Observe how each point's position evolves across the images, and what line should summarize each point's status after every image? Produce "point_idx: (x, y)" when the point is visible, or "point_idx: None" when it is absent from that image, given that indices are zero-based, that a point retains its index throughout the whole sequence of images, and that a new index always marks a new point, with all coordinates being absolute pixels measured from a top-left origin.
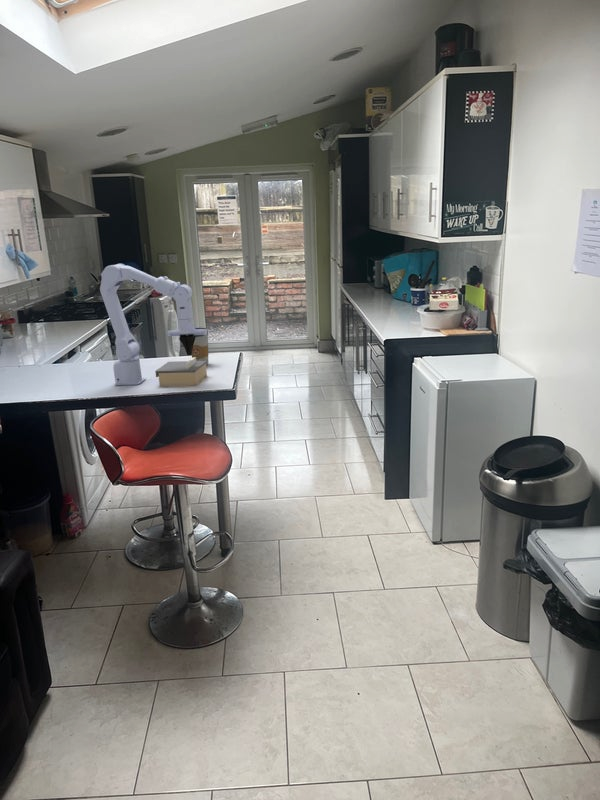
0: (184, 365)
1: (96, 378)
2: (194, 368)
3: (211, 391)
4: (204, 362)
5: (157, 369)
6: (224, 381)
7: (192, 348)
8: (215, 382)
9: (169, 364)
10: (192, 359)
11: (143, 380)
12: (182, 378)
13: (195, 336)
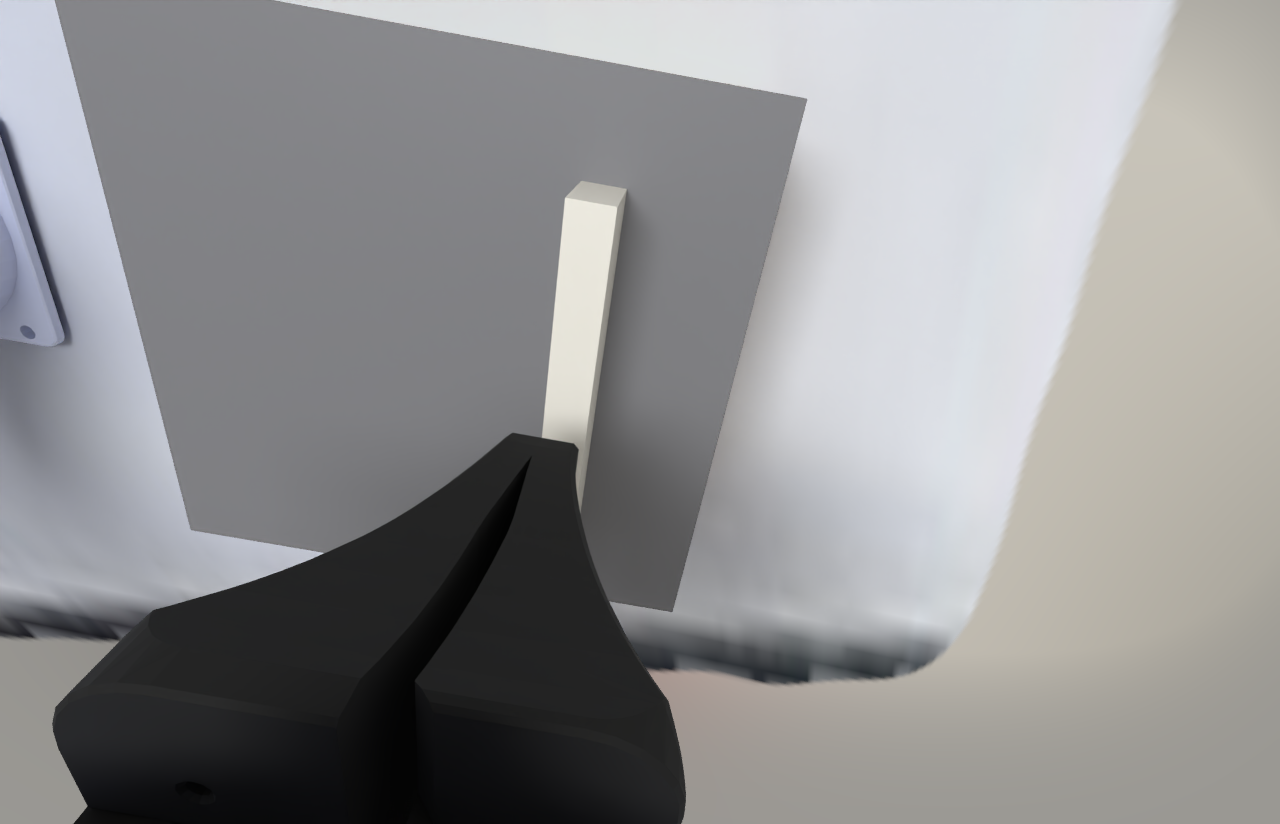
0: (474, 361)
1: None
2: (652, 548)
3: (806, 660)
4: (771, 231)
5: (180, 477)
6: (950, 420)
7: (574, 508)
8: (853, 433)
9: (197, 227)
10: (584, 379)
11: (18, 208)
12: None
13: (665, 818)
